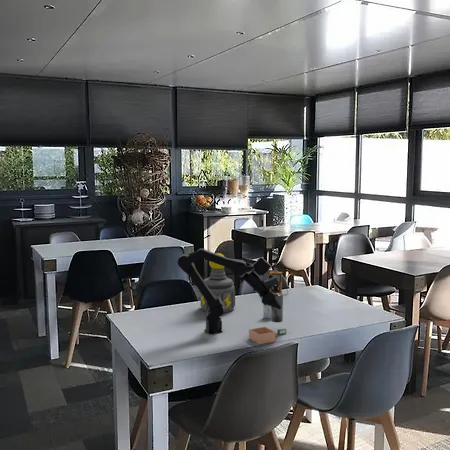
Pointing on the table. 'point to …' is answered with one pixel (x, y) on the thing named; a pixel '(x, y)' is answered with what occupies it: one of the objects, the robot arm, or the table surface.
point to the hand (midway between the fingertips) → (280, 306)
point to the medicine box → (266, 311)
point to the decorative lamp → (219, 287)
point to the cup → (262, 335)
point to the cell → (275, 312)
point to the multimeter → (279, 276)
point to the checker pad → (280, 331)
